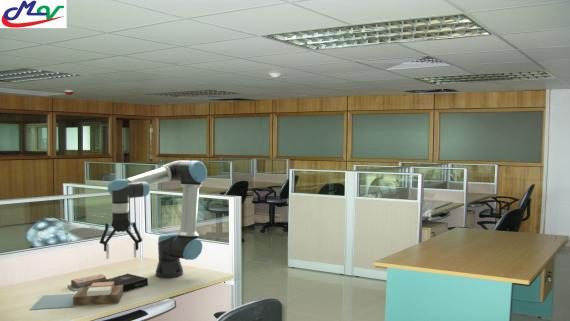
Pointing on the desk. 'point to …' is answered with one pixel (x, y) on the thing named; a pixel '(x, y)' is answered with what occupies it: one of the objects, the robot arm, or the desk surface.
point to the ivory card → (99, 291)
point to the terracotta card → (103, 284)
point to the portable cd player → (128, 281)
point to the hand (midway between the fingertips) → (121, 257)
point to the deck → (97, 297)
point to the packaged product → (85, 282)
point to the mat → (54, 302)
